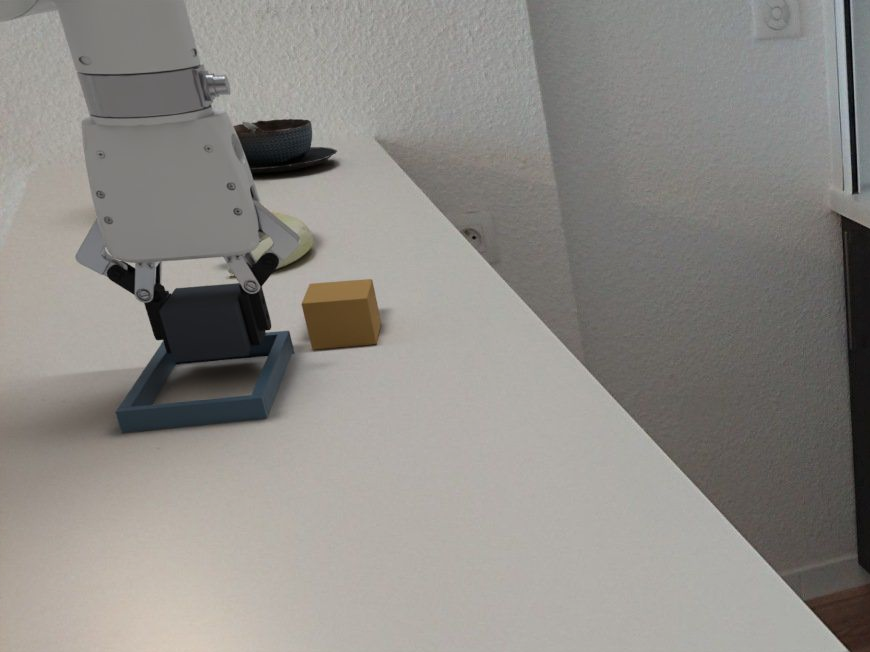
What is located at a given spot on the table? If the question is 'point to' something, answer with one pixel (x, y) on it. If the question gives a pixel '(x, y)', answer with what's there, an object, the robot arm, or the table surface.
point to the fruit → (298, 228)
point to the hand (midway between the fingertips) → (217, 341)
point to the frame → (145, 416)
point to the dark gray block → (205, 323)
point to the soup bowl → (280, 145)
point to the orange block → (341, 314)
